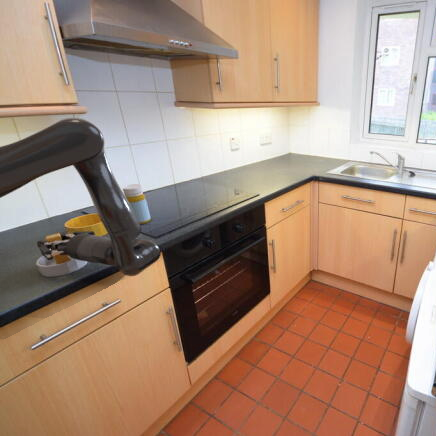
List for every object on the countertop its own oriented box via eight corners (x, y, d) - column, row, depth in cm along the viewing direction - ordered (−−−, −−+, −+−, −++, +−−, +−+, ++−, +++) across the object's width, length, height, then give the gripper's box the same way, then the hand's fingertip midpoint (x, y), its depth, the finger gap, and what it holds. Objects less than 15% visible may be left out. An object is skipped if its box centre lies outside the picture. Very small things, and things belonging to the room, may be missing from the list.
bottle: (143, 217, 125) (134, 183, 119) (154, 220, 122) (146, 185, 116) (127, 223, 119) (117, 187, 113) (138, 226, 116) (128, 190, 110)
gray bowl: (65, 278, 85) (61, 267, 83) (30, 275, 86) (25, 265, 84) (97, 257, 95) (93, 248, 94) (65, 255, 96) (61, 246, 95)
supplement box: (71, 260, 92) (60, 232, 88) (72, 265, 90) (60, 236, 86) (57, 264, 90) (45, 235, 86) (58, 269, 88) (45, 239, 84)
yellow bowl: (93, 241, 105) (89, 228, 103) (59, 239, 106) (54, 226, 104) (121, 225, 117) (117, 214, 115) (90, 224, 118) (86, 212, 116)
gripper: (111, 226, 88) (69, 219, 92) (60, 248, 76) (13, 239, 80) (118, 248, 91) (76, 240, 96) (70, 273, 79) (25, 263, 83)
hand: (48, 240), depth 88 cm, fingers closed on supplement box, 4 cm apart
